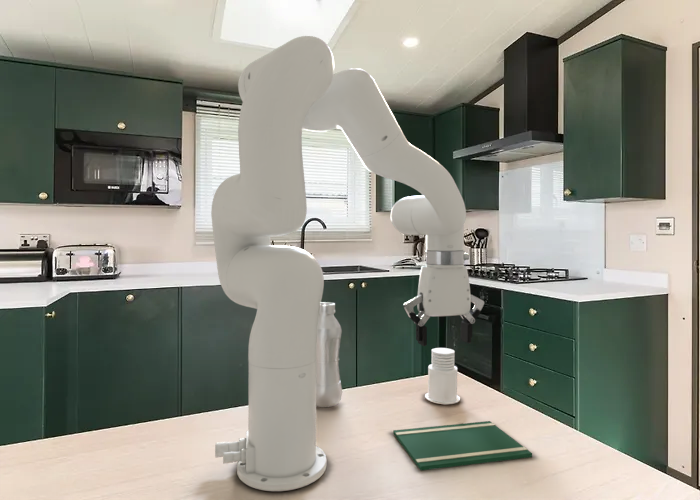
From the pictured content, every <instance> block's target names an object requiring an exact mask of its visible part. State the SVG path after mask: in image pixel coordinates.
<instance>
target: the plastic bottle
mask: <svg viewBox="0 0 700 500" xmlns="http://www.w3.org/2000/svg"><path fill="white" fill-rule="evenodd" d="M335 313H336V302H331V301H327V302H326V301H321V304H320V309H319V315H318V323H317V339H316V407H321V408H331V407H335V406H337V405H339V403H340V402H341V400H342V397H343V396H342V395H343V387H342V382H341V374H340V349H341V341H342V335H343V334H342V333H343V330H342V326H341V324H340V322H339V320H338V319H337V318H336V317H335V315H334V314H335Z"/></svg>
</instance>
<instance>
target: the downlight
mask: <svg viewBox="0 0 700 500" xmlns="http://www.w3.org/2000/svg"><path fill="white" fill-rule="evenodd" d="M455 352H456V351H455V350H454V349H452V348H447V347H435V348H432V349H431V359H430V360H431V361H430V362H431V364H429V365H428V367H427V376H428V377H427V393H425V395H424V398H425V399H426V400H427V401H429V402H431V403H434V404H441V405H443V406H444V405H446V406H447V405H453V404H457V403H459V402H460V401H461V397H460V396H459V395H458V366H457V365H455V355H456V354H455Z"/></svg>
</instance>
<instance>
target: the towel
mask: <svg viewBox="0 0 700 500" xmlns="http://www.w3.org/2000/svg"><path fill="white" fill-rule="evenodd" d="M392 434H393V436H394V437H395V439H396V440H397V441H398V442H399V444H400V445H401V446H402V448H403V449H404V450H405V452H406V453H407V455H408V456H409V457H410V459H411V460H412V461H413V462H414V464H415V465H416V466H417V468H418V469H419V471H428V470H436V469H446V468H455V467H460V466H469V465H471V466H472V465H478V464H487V463H495V462H502V461H513V460H520V459H528V458H533V453H532V452H531V451H530V450H529V449H528V448H527V447H525V446H523V445H522V444H520V443H519V442H518V441H517V440H515V439H514V438H513V437H511V436H510V435H508V434H507V433H506V432H505V431H503V430H502V429H501V428H500V427H498V426H497V425H496V424H495V423H494V422H492V421H490V420H487V421H476V422H475V421H474V422H465V423H456V424H445V425H434V426H424V427H415V428H404V429H403V428H402V429H393V432H392Z"/></svg>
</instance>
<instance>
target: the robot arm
mask: <svg viewBox="0 0 700 500" xmlns="http://www.w3.org/2000/svg"><path fill="white" fill-rule="evenodd" d="M237 89H238V94H239V97H240V100H241V102H242V103H241V107H240V112H239V117H238V126H237V128H238V129H237V134H238V135H237V138H238V156H239V173H237V174H234V175H231V176H229V177H227V178H225V179H224V180H223V181H222V182H221V183H220V184H219V186H217V189H216V190H215V193H214V195H213V197H212V198H213V199H212V203H211V209H210V211H211V212H210V213H211V214H210V215H211V226H212V233H213V235H212V236H213V241H214V242H213V245H214V253H215V261H216V268H217V275H218V279H219V284H220V286H221V288H222V291H223V293H224V294H225V296H226V297H227V298H228V299H229V300H230V301H232V302H234V303H235V304H236V305H240V306H243V307H247V308H251V309H255V310H256V314H255V318H254V320H253V323H252V325H251V330H250V333H249V339H248V347H247V348H248V349H247V350H248V351H247V363H248V365H247V366H248V370H247V371H248V375H247V376H248V380H247V381H248V383H247V384H248V385H247V386H248V389H247V390H248V396H247V397H248V405H247V407H248V409H247V410H248V414H247V415H248V417H247V418H248V421H247V423H248V430H246V431H245V437H241V438H238V441H220V442H219V441H218V442H215V448H214V457H215V458H222V462H223V464H232V463H237V464H236V475H237V477H238V479H239V480H240V481H241V482H242V483H243V484H245V485H246V486H247V487H250V488H253V489H256V490H259V491H265V492H287V491H293V490H296V489H301V488H304V487H306V486H309V485H311V484H313V483H315V482H316V481H317V480H318V479H320V478H321V477H322V476H323V475H324V473H325V472H326V469H327V464H328V462H327V461H328V460H327V455H326V453H325V451H324V450H323V449H322V448H320V447H319V446H318V445H317V406H316V339H317V323H318V315H319V309H320V304H321V302H322V299H323V295H324V287H325V278H324V272H323V269H322V267H321V264H320V263H319V261H318V260H317V259H316V257H314V255H312V254H311V253H310V252H309V251H306V250H305V249H303V248H300V247H296V246H290V245H272V241H271V240H272V239H271V237H283V236H289V235H292V234H294V233H296V232H297V231H299V229H301V228H302V227H303V226H304V223H305V221H306V219H307V211H308V210H307V207H308V206H307V194H306V183H305V181H306V180H305V171H304V159H303V145H302V144H303V141H302V135H303V130H305V131H309V132H315V133H324V132H330V131H334V130H337V129H340V130H341V131H342V132H343V134H344V135H345V137H346V139H347V141H348V142H349V144H350V145H351V147H352V148H353V150H354V151H355V153H356V154H357V156H358V158H359V159H360V161H361V163H362V165H363V166H364V168H365V169H366V170H368V171H369V172H371V173H373V174H375V175H376V176H377V175H378V176H380V177H383V178H385V179H388V180H392V181H396V182H398V183H402V184H403V185H406V186H408V187H410V188H412V189H414V190H415V191H417V192H418V193H420V194H421V195H411V196H409V195H408V196H405V197H402V198H400V199H399V200H397V201H396V202H395V203H394V204H393V206H392V208H391V210H390V222H391V224H392V226H393V227H394V228H395V230H396V231H398V232H399V233H401V234H404V235H408V236H425V265H422V266H421V267H420V272H419V278H418V287H417V295H416V296H414V297H413V298H411V299H409V300H408V301H406V302H404V303H403V305H402V307H403V308H404V310H405V312H406V314H407V317H408V318H409V319H410V320H411V321H412V322H413V323H414V325H415V339H416V341H417V344H419V345H420V346H422V347H426V346H428V327H427V326H426V325H425V324H426V323H427V322H428V321H429V319H430V318H431V317H452V316H460V318H461V319H462V320H461V321H460V340H461V341H463V342H465V343H466V344H471V343H472V338H473V324H475V322H476V319H478V317H479V316H480V315H481V311H482V309H483V307H484V305H485V301H484V300H483V299H480V298H479V297H477V296H475V295H473V294H471V286H470V278H469V273H468V268H467V266H466V265H464V264H465V262H466V261H469V260H470V254H469V253H466V252H465V248H464V247H465V223H466V218H467V211H466V209H467V208H466V204H465V201H464V198H463V196H462V195H461V192H460V189H459V188H458V185H457V183H456V182H455V180H454V178H453V176H452V175H451V173H450V172H449V170H447V169H446V168H445V167H444V165H442V164H441V163H440V162H439V161H437V160H436V159H434V158H433V157H432V156H431V155H429V154H427V153H426V152H424V151H423V150H421V149H419V147H417V146H415V145H414V144H411V143H410V142H409V141H408V140H407V138H406V136H405V134H404V132H403V130H402V128H401V127H400V125H399V123H398V121H397V119H396V117H395V115H394V113H393V112H392V110H391V108H390V106H389V105H388V102H387V101H386V99H385V97H384V95H383V93H382V91H381V89H380V88H379V86H378V84H377V82H376V81H375V79H374V78H373V76H372V75H371V74H370V73H369V72H368V71H366V70H364V69H362V68H347V69H344V70H341V71H338V72H335V59H334V55H333V52H332V50H331V48H330V46H329V45H328V44H327V43H326V42H325V41H324V40H323V39H321V38H319V37H317V36H314V35H302V36H298V37H294V38H293V39H290V40H288V41H287V42H285V43H284V44H282V45H280V46H278V47H276V48H275V49H273V50H271V51H269V52H268V53H266V54H264V55H263V56H261V57H259V58H257V59H255V60H254V61H252V62H250V63H249V64H248V65H246V66H245V67H244V68H243V70H242V71H241V73H240V75H239V77H238V82H237ZM471 303H473V308H472V309H471ZM414 307H417V311H418V314H417V313H416V312H415V310H414Z"/></svg>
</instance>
